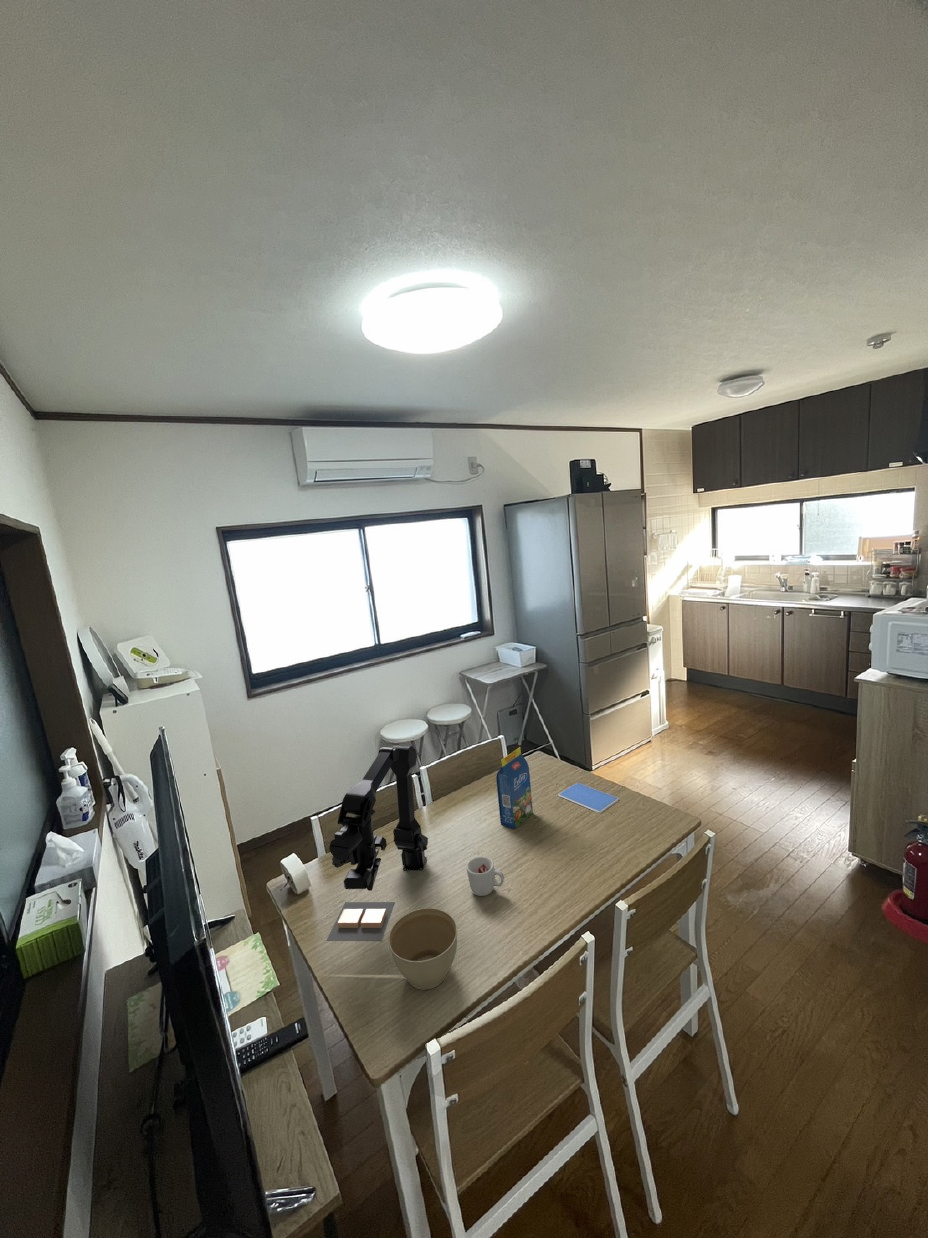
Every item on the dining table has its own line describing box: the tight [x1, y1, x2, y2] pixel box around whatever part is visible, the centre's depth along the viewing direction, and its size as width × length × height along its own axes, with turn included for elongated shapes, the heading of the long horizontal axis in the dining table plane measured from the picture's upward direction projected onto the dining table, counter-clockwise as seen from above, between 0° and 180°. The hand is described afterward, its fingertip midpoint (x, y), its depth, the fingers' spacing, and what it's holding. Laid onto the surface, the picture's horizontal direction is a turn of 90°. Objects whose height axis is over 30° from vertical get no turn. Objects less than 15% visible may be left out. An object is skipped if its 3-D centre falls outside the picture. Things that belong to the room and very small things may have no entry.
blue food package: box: [495, 746, 534, 830], centre depth 178 cm, size 6×12×25 cm, turn 141°
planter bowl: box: [388, 907, 458, 991], centre depth 118 cm, size 16×16×11 cm
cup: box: [465, 856, 505, 897], centre depth 144 cm, size 11×8×8 cm
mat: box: [326, 901, 396, 942], centre depth 138 cm, size 15×14×1 cm
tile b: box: [338, 909, 364, 928], centre depth 138 cm, size 6×2×5 cm
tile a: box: [361, 909, 386, 928], centre depth 137 cm, size 6×2×5 cm
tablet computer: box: [558, 782, 620, 814], centre depth 189 cm, size 19×13×1 cm, turn 40°
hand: (370, 889), depth 136 cm, fingers closed
